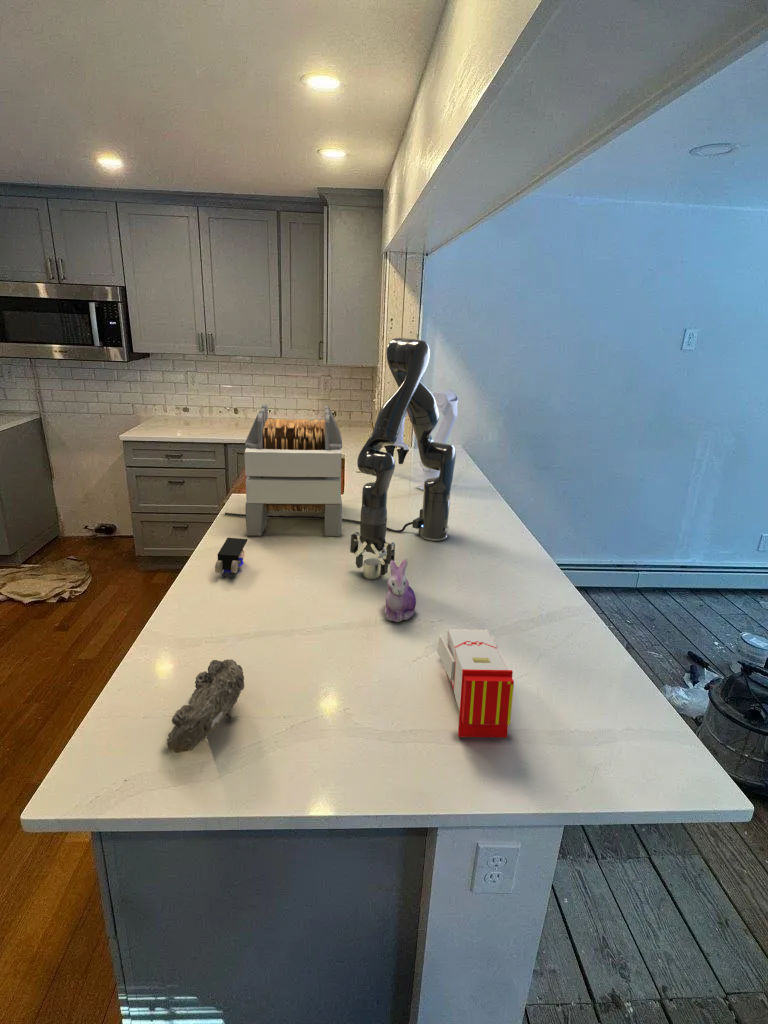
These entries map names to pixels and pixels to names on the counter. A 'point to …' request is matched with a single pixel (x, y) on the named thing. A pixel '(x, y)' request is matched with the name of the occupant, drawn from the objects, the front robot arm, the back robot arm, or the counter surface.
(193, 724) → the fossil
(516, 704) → the counter surface
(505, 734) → the toy
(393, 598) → the figurine
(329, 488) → the grey crate
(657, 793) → the counter surface
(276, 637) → the counter surface
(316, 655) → the counter surface
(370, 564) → the can
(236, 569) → the figurine character
